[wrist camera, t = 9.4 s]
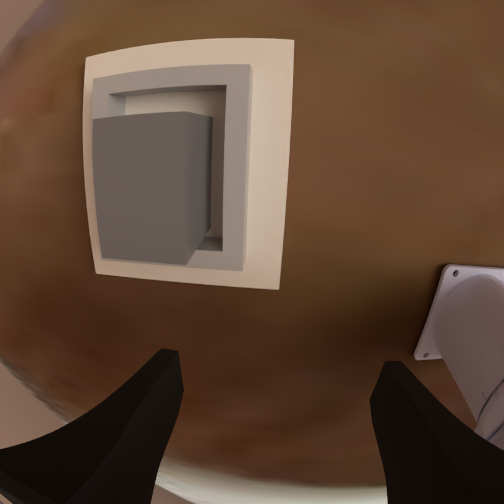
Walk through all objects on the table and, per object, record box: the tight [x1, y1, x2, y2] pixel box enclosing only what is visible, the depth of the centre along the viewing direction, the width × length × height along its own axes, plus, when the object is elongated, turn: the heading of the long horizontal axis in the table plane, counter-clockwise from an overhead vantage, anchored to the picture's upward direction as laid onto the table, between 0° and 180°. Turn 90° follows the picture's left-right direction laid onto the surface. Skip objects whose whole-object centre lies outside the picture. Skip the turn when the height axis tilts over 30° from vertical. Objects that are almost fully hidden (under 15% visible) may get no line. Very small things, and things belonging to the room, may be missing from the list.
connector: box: [93, 111, 213, 265], centre depth 14 cm, size 4×6×5 cm, turn 177°
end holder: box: [83, 38, 294, 290], centre depth 15 cm, size 12×14×3 cm
